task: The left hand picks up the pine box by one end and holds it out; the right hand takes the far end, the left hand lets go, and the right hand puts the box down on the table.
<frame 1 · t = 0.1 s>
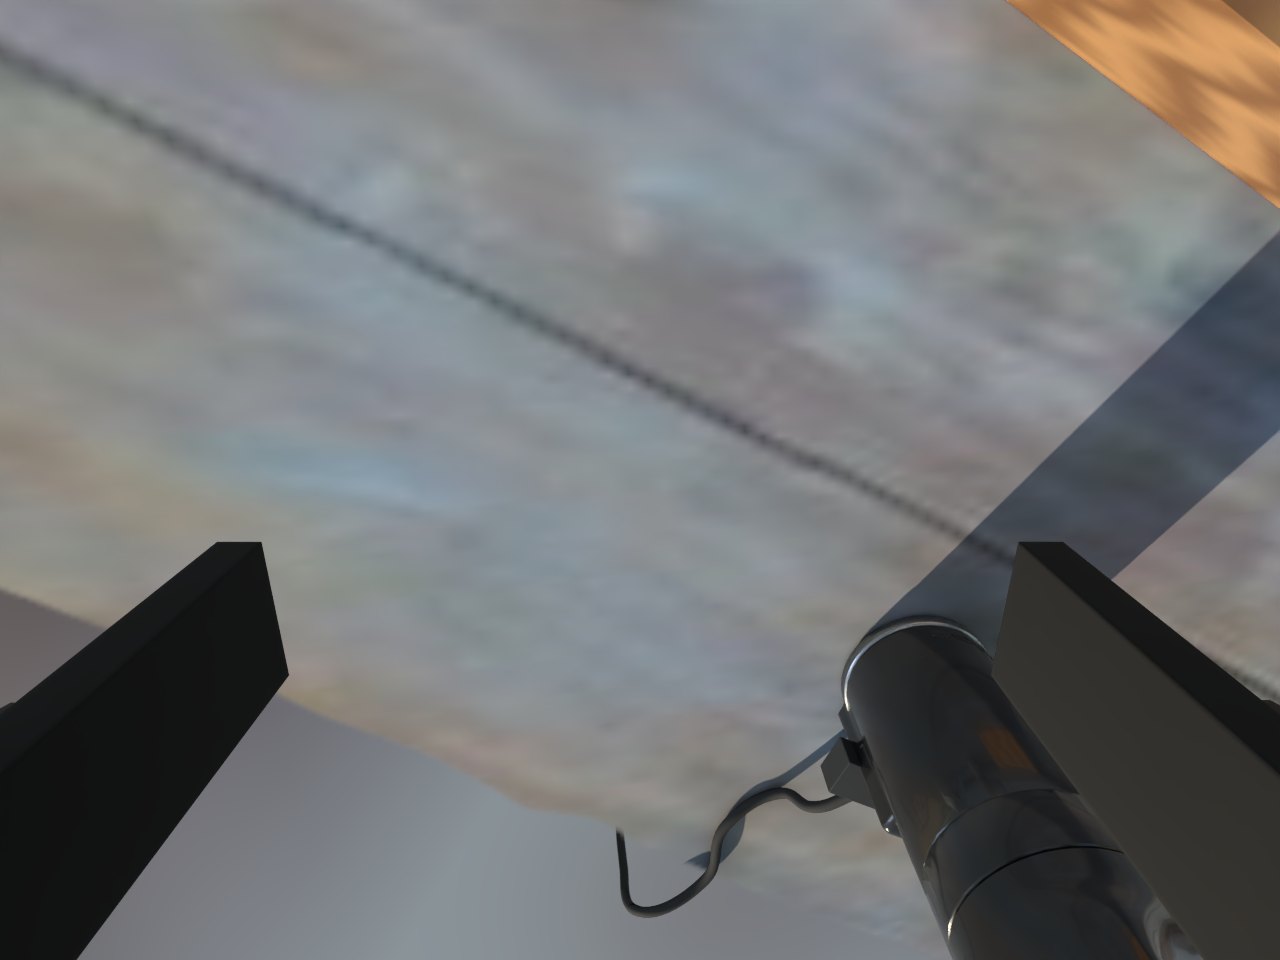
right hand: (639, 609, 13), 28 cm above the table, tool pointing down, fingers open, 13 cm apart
box: (1193, 43, 34), on the table
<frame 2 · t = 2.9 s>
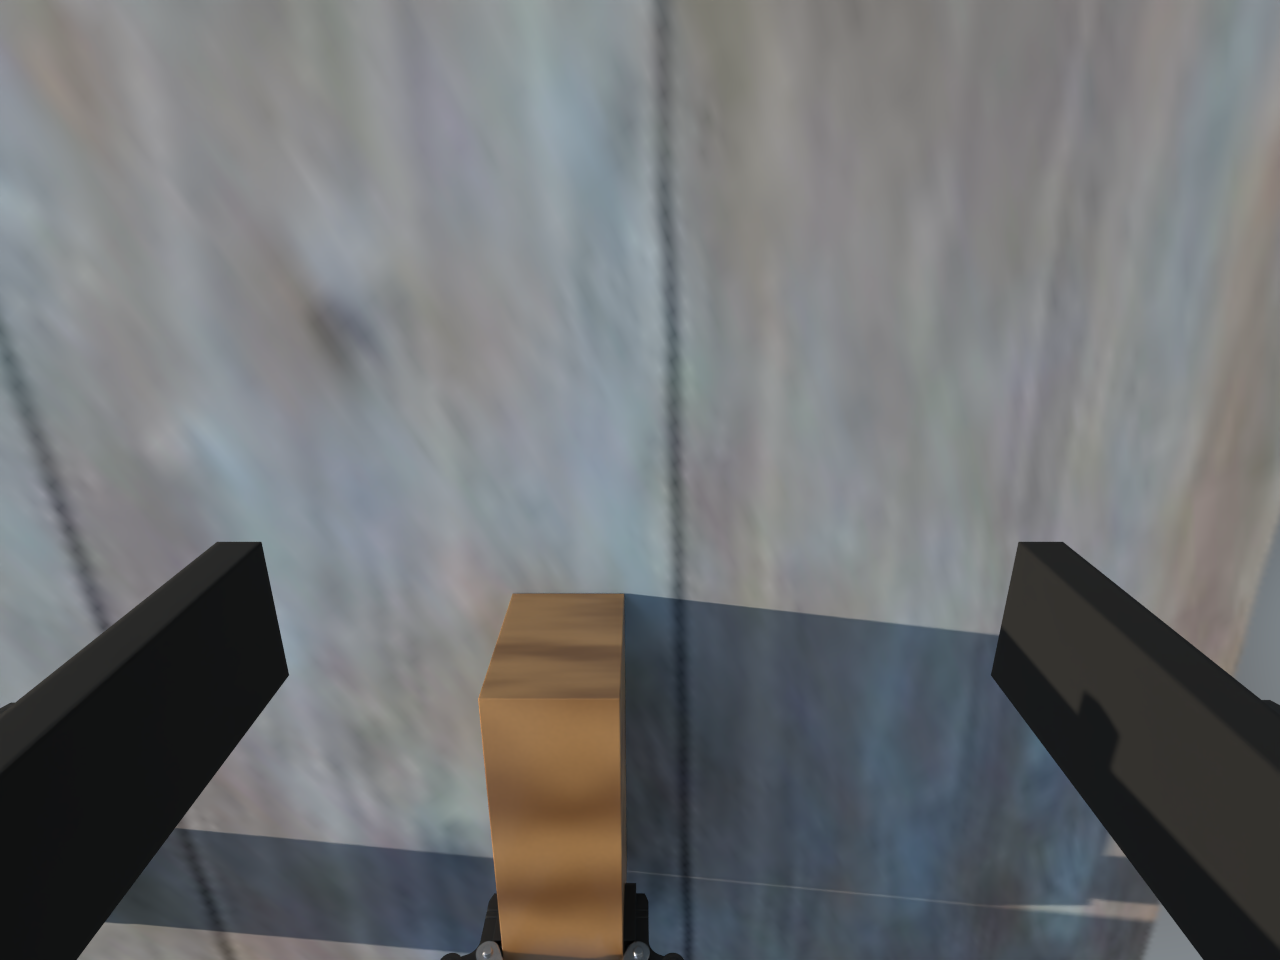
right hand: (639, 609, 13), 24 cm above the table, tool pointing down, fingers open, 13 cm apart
box: (574, 738, 44), on the table, touching left hand
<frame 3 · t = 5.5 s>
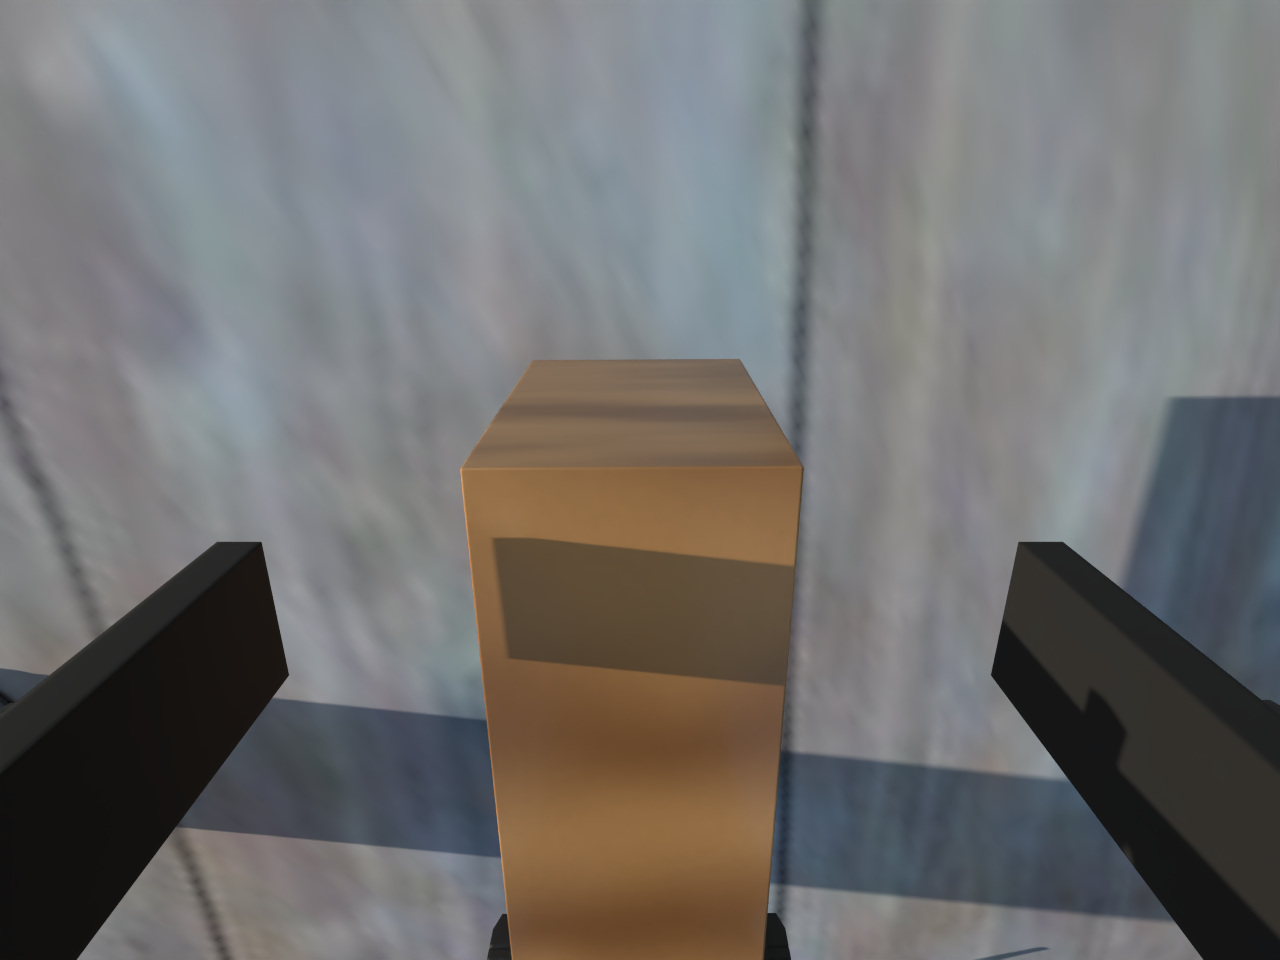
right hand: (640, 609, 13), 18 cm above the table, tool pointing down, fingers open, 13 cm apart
box: (638, 643, 25), point 7 cm above the table, touching left hand
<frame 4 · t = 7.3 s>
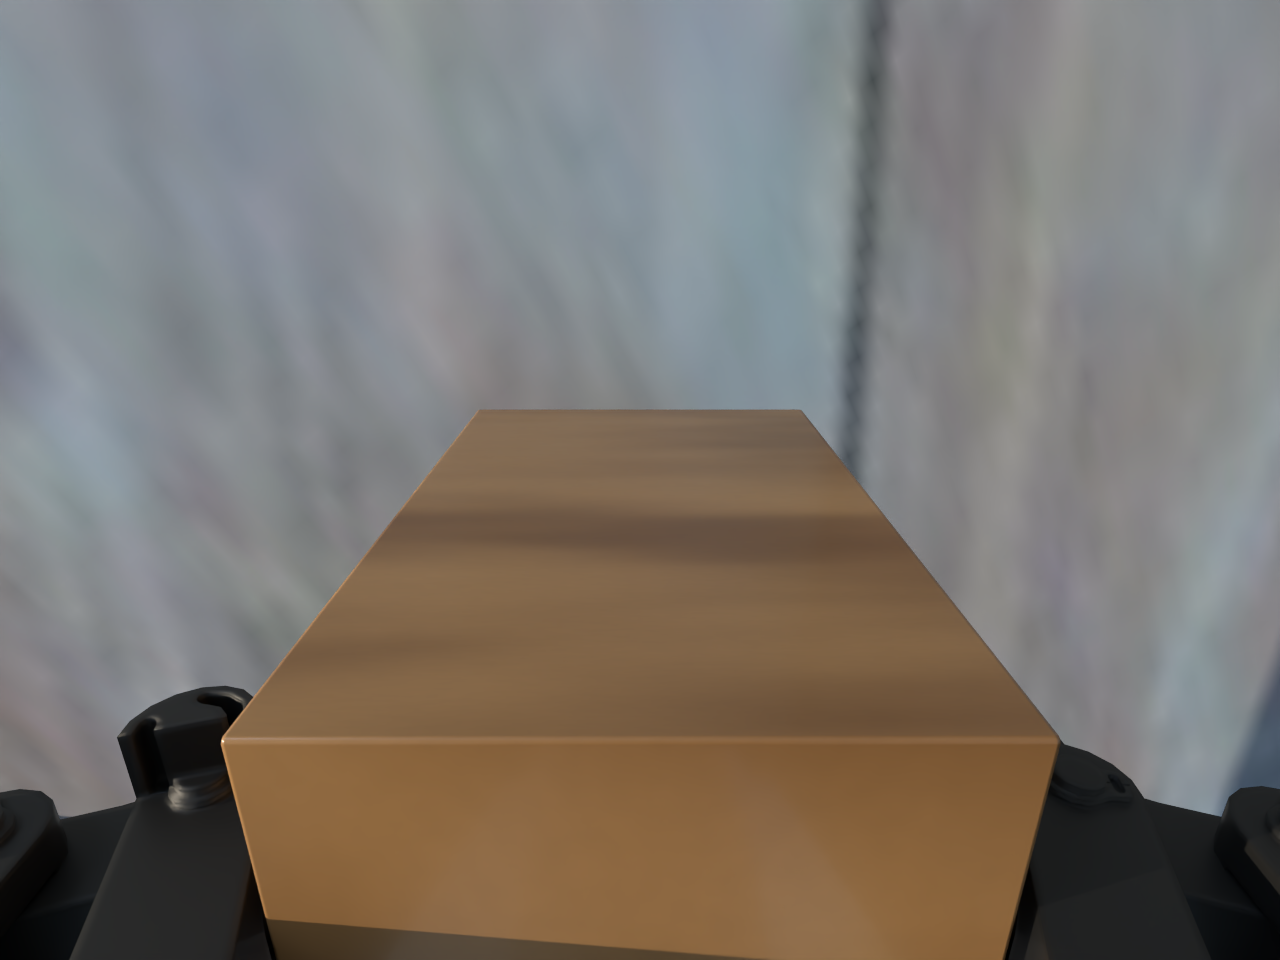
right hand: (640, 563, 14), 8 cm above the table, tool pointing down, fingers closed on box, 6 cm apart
box: (639, 811, 18), point 7 cm above the table, touching right hand, left hand
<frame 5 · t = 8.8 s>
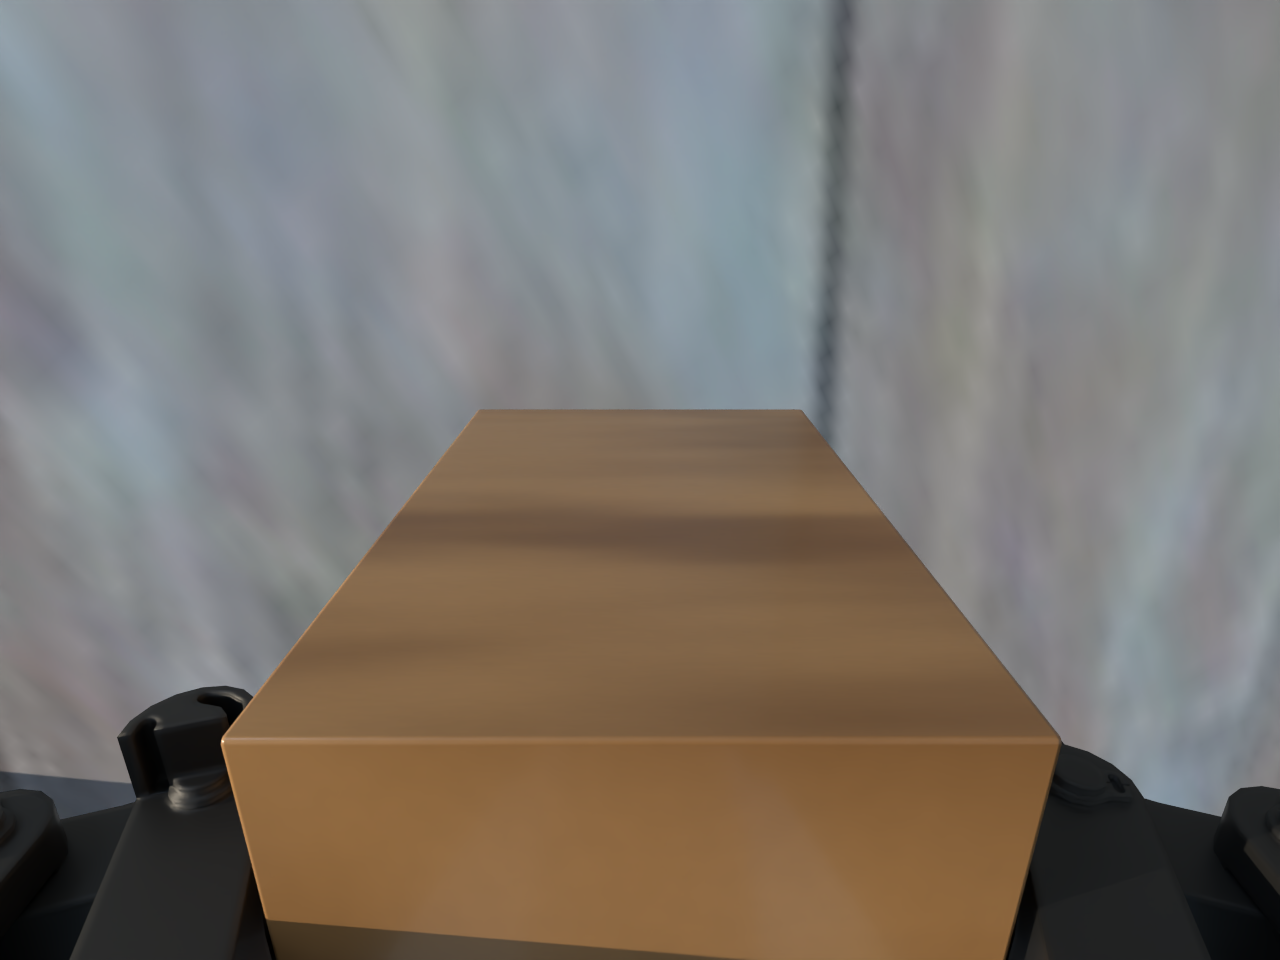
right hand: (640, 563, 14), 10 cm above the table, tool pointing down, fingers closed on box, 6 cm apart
box: (639, 811, 18), point 10 cm above the table, touching right hand
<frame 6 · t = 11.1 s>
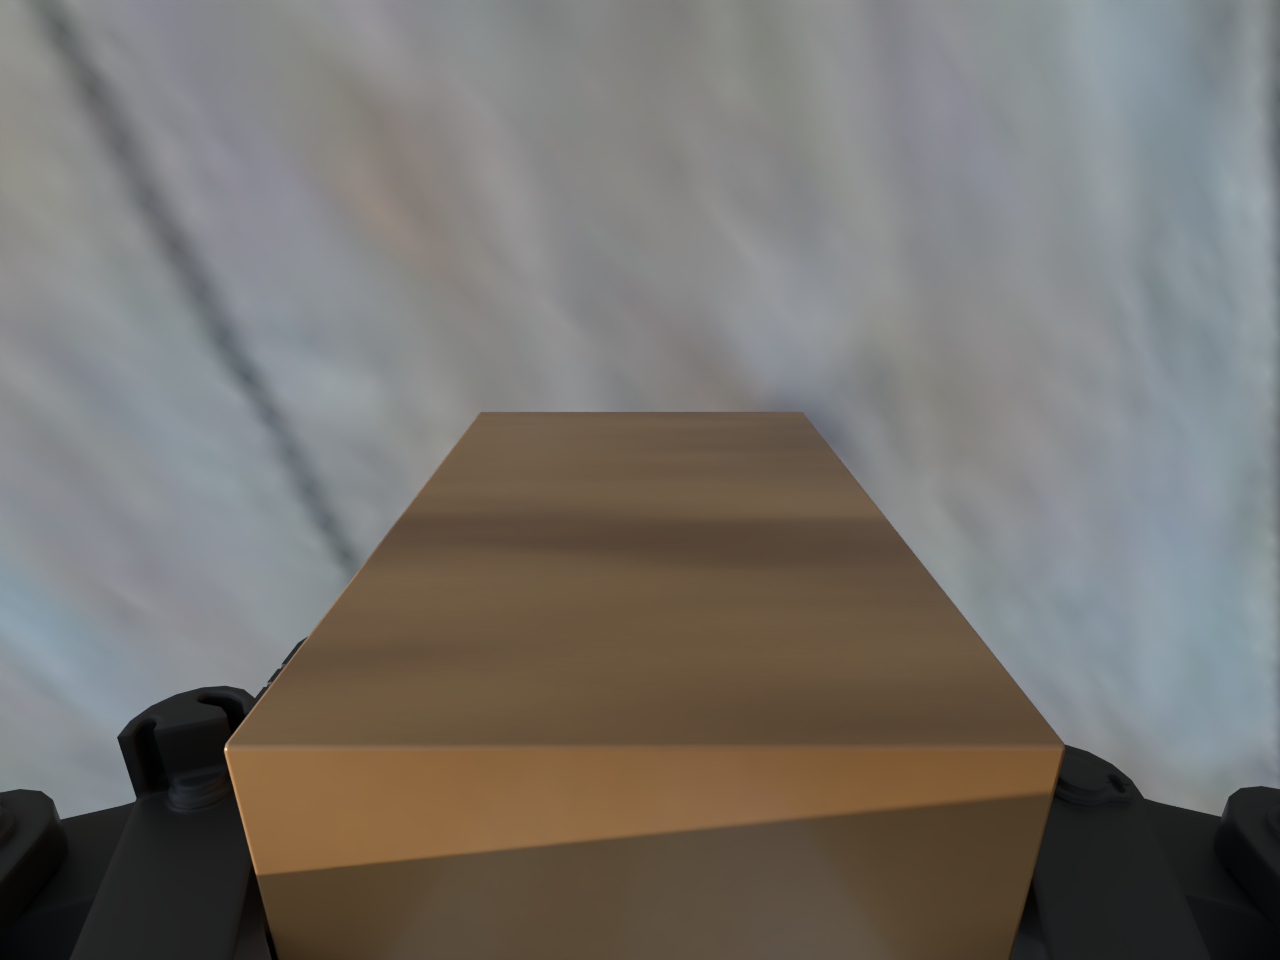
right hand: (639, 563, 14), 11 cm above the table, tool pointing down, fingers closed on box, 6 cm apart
box: (641, 813, 18), point 10 cm above the table, touching right hand
when the right hand's fingers open (2 cm above the table, at t = 14.9 s): box drops 2 cm, on the table.
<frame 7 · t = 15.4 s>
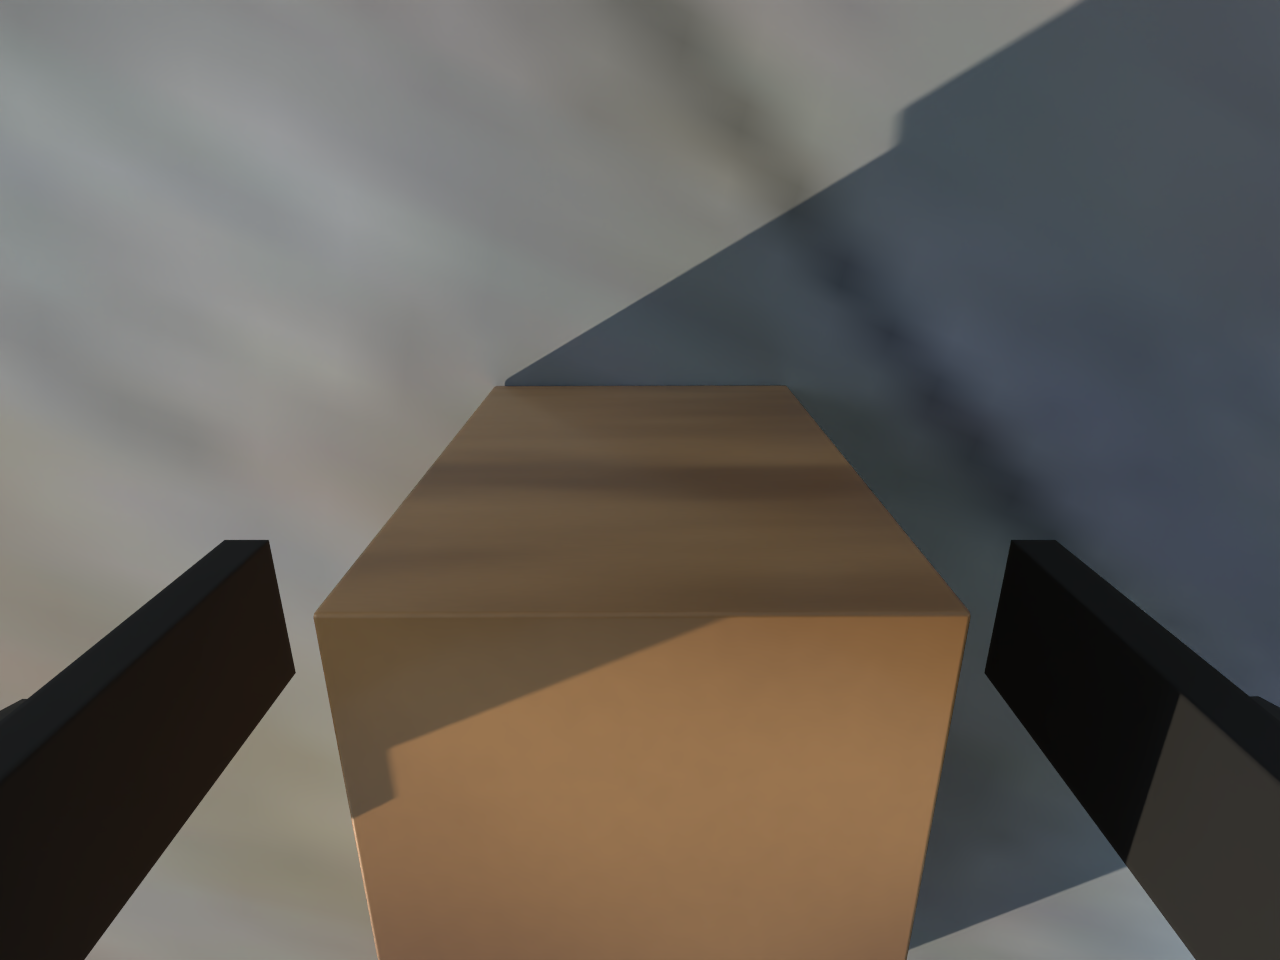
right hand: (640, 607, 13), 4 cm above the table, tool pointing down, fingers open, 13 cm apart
box: (641, 760, 19), on the table
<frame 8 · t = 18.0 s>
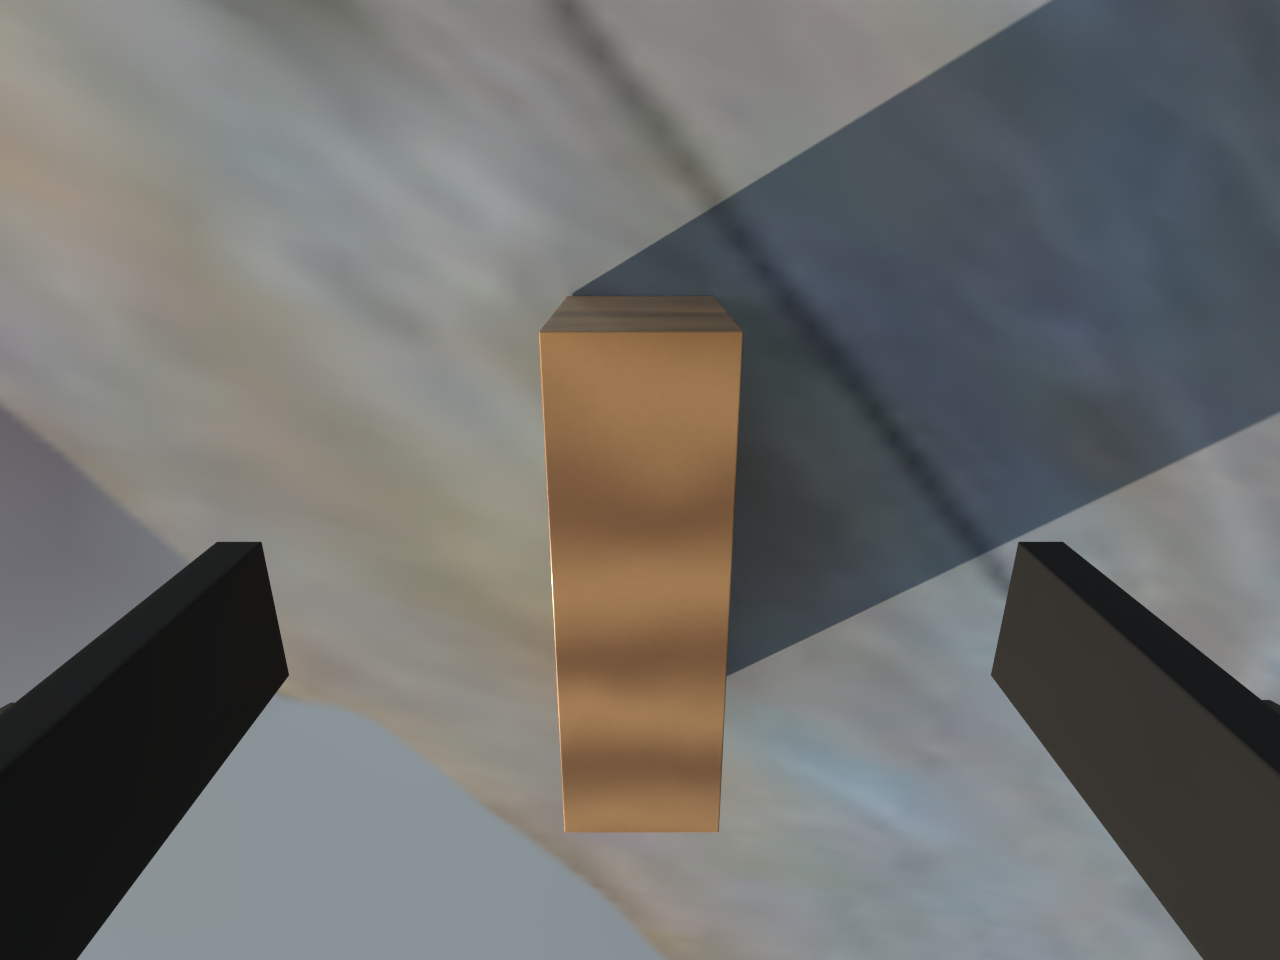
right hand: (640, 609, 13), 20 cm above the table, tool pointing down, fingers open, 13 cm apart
box: (641, 513, 34), on the table
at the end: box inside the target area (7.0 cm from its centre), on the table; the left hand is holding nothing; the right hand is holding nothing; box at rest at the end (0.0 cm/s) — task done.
